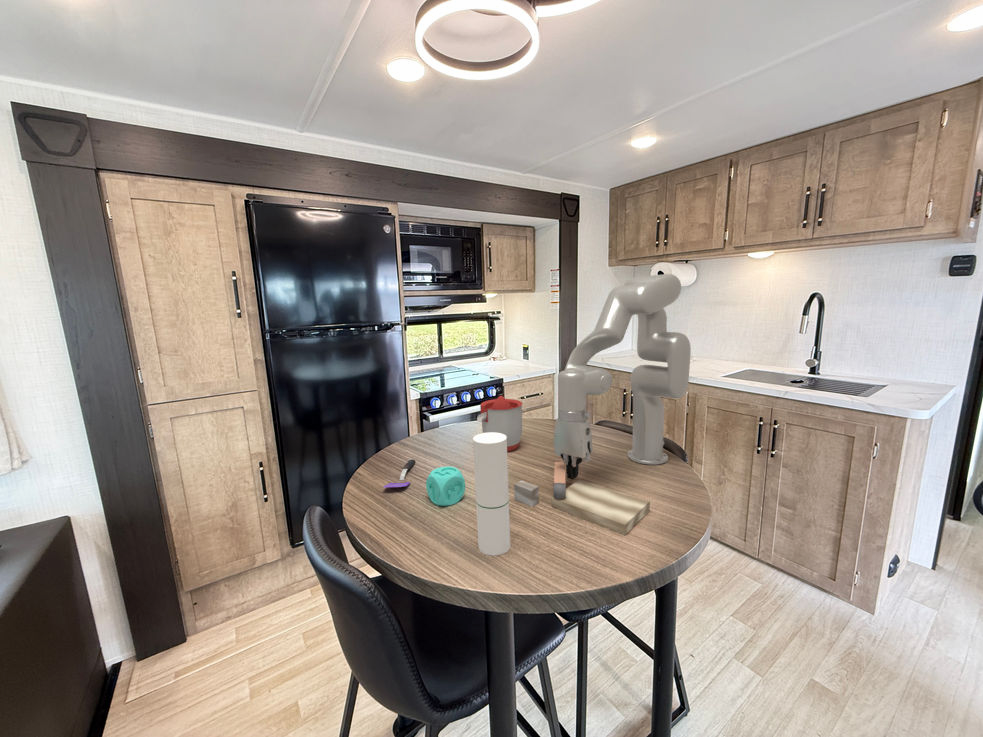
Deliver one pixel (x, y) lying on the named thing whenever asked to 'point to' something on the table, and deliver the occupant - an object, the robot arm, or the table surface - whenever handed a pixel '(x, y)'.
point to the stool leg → (559, 481)
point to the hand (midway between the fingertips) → (572, 477)
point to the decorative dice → (445, 486)
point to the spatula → (402, 475)
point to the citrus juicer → (503, 419)
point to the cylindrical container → (492, 492)
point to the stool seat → (592, 504)
